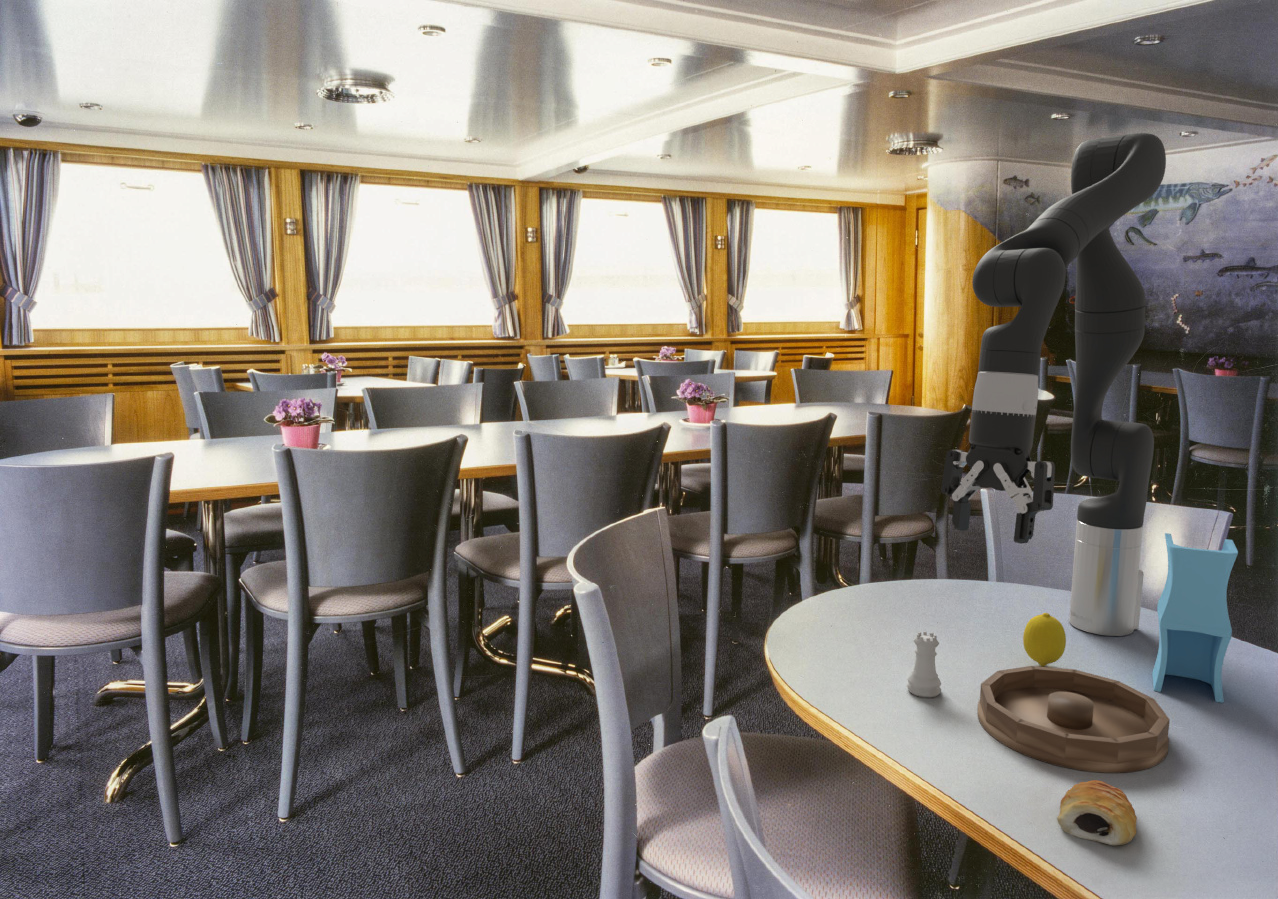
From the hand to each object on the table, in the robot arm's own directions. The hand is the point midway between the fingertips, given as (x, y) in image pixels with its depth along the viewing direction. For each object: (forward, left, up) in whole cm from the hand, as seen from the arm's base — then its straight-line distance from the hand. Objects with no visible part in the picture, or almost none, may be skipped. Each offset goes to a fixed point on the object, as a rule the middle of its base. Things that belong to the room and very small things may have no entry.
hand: (989, 536), depth 111 cm
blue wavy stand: (-29, +5, -22) cm, 37 cm away
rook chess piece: (+6, -4, -22) cm, 24 cm away
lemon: (-15, -6, -22) cm, 28 cm away
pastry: (+7, +27, -23) cm, 36 cm away
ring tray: (-5, +10, -22) cm, 25 cm away
